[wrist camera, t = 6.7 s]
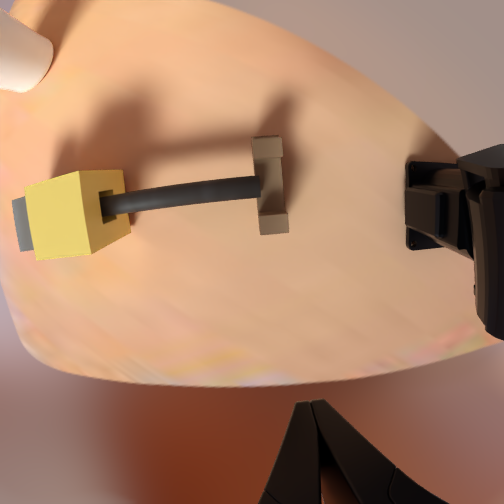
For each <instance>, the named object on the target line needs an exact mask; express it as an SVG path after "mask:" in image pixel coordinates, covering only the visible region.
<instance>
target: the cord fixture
mask: <svg viewBox="0 0 504 504" xmlns="http://www.w3.org/2000/svg"><path fill="white" fill-rule="evenodd" d="M252 152H253V163H254V174H255V176H246V177H236V178H226V179H217V180H208V181H200V182H192V183H184V184H177V185H170V186H163V187H157V188H150V189H144V190H138V191H132V192H127V193H121V194H116V195H110V196H105V197H100V198H99V201H100V208H101V215H102V217H106V216H112V215H118V214H125V213H132V212H138V211H145V210H152V209H160V208H167V207H175V206H183V205H191V204H200V203H209V202H218V201H228V200H238V199H249V198H257V207H258V218H259V229H260V235H268V234H280V233H289V222H288V213H287V212H286V211H285V205H284V192H283V180H282V168H281V157H283V148H282V137H279V135H273V136H259V137H252ZM12 207H13V214H14V220H15V226H16V232H17V237H18V242H19V247H20V252H22V251H29V250H34V247H33V242H32V237H31V231H30V226H29V220H28V213H27V206H26V199H25V196H24V197H21V198H18V199H15V200H12Z"/></svg>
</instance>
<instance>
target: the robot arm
mask: <svg viewBox="0 0 504 504" xmlns="http://www.w3.org/2000/svg"><path fill="white" fill-rule="evenodd" d="M456 161H457V164H450V163H436V162H417V161H410V162H408V163H407V164H406V168H405V169H406V190H405V224H406V226H407V227H406V246H407V248H409V249H410V250H413V251H414V250H423V249H432V248H441V247H446V248H448V249H450V250H452V251H455V252H457V253H459V254H461V255H463V256H465V257H467V258H469V259H471V260H473V261H474V272H475V285H474V295H475V305H476V310H477V315H478V316H479V318H480V319H481V321H482V322H483V324H484V325H485V330H486V332H488V333H489V334H491V335H492V336H494V337H496V338H498V339H500V340H503V341H504V144H499V145H496V146H493V147H490V148H487V149H484V150H481V151H478V152H475V153H472V154H469V155H466V156H463V157H460V158H457V159H456ZM412 165H413V167H414V170H413V171H412V170H411V166H412ZM412 241H414V244H413V246H411V243H412ZM321 493H322V497H323V500H324V504H449V503H447V502H446V501H444V500H442V499H441V498H439V497H437V496H435V495H434V494H432V493H430V492H429V491H427V490H426V489H424V488H423V487H421V486H420V485H418V484H417V483H416V482H415V481H413V480H412V479H411V478H409V477H408V476H407V475H406V474H405V473H404V472H402V471H401V470H400V469H399V468H396V466H395V465H394V464H393V463H392V462H391V461H390V460H389V459H388V458H386V457H385V456H384V455H383V454H382V453H381V452H380V451H379V450H378V449H376V448H375V447H374V446H373V445H372V444H371V443H370V442H369V441H368V440H367V439H366V438H365V437H363V436H362V435H361V434H360V433H359V432H358V431H357V430H356V429H355V428H354V427H353V426H352V425H351V424H350V423H349V422H347V420H346V419H344V418H343V417H342V416H341V415H340V414H339V413H338V412H337V411H336V410H335V409H334V408H333V407H332V406H331V405H330V404H329V403H328V402H327V401H326V400H325V399H315V400H311V401H310V402H309V401H298V402H296V403H295V405H294V408H293V411H292V414H291V417H290V421H289V423H288V427H287V429H286V432H285V435H284V438H283V441H282V444H281V446H280V449H279V452H278V455H277V457H276V460H275V463H274V465H273V468H272V471H271V473H270V476H269V478H268V481H267V483H266V486H265V488H264V491H263V493H262V495H261V497H260V500H259V503H258V504H322V503H321Z"/></svg>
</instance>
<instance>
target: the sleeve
mask: <svg viewBox="0 0 504 504" xmlns="http://www.w3.org/2000/svg"><path fill="white" fill-rule="evenodd" d="M24 190H25V199H26V206H27V213H28V220H29V226H30V231H31V237H32V242H33V247H34V251H35V256H36V260H46V259H55V258H63V257H72V256H81V255H90V254H93V253H95V252H97V251H98V250H100V249H102V248H104V247H105V246H107V245H109V244H111V243H113V242H114V241H116V240H118V239H120V238H122V237H124V236H126V235H127V234H129V233H131V229H130V222H129V216H128V213H125V214H118V215H112V216H106V217H102V215H101V208H100V201H99V198H100V197H105V196H110V195H116V194H121V193H125V185H124V176H123V170H83V171H76V172H72V173H69V174H65V175H62V176H58V177H55V178H52V179H48V180H45V181H42V182H39V183H36V184H33V185H30V186H27V187H24Z"/></svg>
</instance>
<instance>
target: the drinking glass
mask: <svg viewBox="0 0 504 504" xmlns="http://www.w3.org/2000/svg"><path fill="white" fill-rule="evenodd" d="M52 59H53V45H52V43H51V41H50V40H49V39H47V38H45V37H44V36H42V35H40V34H38V33H37V32H35V31H34V30H32V29H31V28H29V27H28V26H26V25H25V24H23V23H22V22H20V21H19V20H18V19H16V18H15V17H13V16H12V15H10V14H9V13H7V12H6V11H4V10H3V9H1V8H0V89H3V90H10V91H14V92H20V93H21V92H26V91H29V90H31V89H32V88H34V87H35V86H36V85H37V84H38V83H39V82H40V81H41V80H42V79H43V77H44V76H45V74H46V73H47V71H48V69H49V67H50V65H51V62H52Z"/></svg>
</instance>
